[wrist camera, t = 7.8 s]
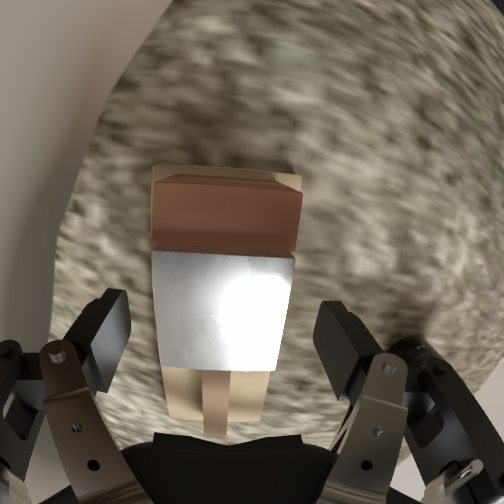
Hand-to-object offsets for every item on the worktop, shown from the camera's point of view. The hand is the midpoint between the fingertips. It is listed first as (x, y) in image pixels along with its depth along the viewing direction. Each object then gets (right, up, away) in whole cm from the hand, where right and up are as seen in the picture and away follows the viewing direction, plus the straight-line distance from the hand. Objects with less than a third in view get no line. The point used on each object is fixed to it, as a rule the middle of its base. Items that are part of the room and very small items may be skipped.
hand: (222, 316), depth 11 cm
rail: (-2, -3, +10) cm, 10 cm away
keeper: (-1, +2, +6) cm, 7 cm away
